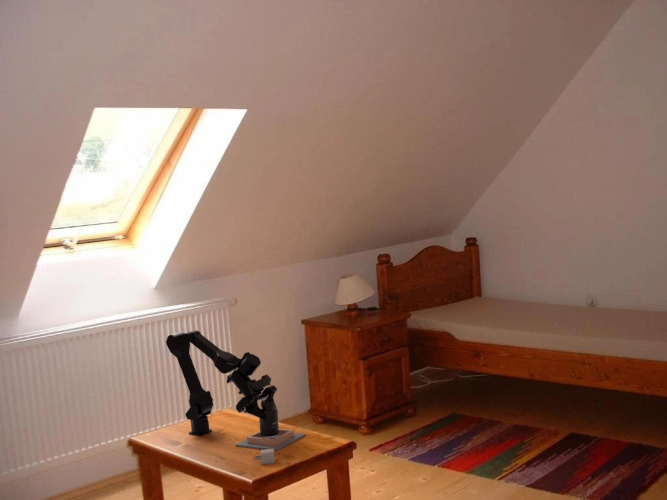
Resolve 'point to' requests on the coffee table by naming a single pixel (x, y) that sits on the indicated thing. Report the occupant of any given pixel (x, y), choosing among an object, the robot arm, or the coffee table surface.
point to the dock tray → (271, 440)
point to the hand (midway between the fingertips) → (271, 416)
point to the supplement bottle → (269, 419)
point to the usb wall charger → (266, 456)
